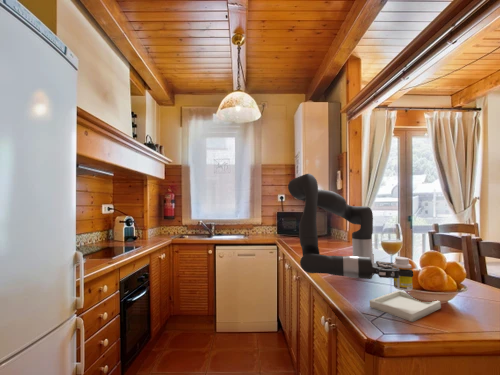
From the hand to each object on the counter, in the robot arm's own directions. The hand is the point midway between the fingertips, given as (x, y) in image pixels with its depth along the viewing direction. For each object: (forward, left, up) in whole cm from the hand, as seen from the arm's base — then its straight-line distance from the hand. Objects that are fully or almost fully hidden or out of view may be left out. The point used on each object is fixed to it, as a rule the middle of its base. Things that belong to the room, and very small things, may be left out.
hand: (410, 271), depth 90 cm
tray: (+1, -2, -12) cm, 12 cm away
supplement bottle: (+2, -2, -6) cm, 7 cm away
